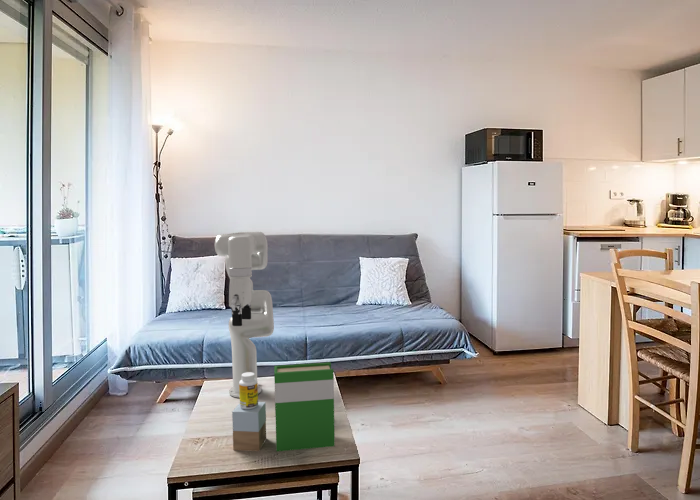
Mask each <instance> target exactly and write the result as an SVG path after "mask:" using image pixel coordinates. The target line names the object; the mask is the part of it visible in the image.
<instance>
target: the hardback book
mask: <svg viewBox="0 0 700 500" xmlns="http://www.w3.org/2000/svg"><path fill="white" fill-rule="evenodd" d="M273 367H274V368H273V370H274V371H273V372H274V374H273V376H274V405H275V406H274V407H275V408H274V411H275V412H274V413H275V444H276V446H275V447H276V448H275V449H276V450H275V451H276V452H285V451H296V450H297V451H298V450H299V451H300V450H308V449H318V448H330V447H331V448H332V447H335V446H336V444H335V443H336V442H335V441H336V440H335V438H336V437H335V388H334V385H335V382H334V381H335V380H334V379H335V378H334V377H335V376H334V374H335V373H334V368H332V363H331V362H330V361H329V362H327V361H326V362H313V363H298V364H297V363H296V364H283V365H282V364H281V365H274V366H273Z"/></svg>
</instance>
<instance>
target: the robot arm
mask: <svg viewBox="0 0 700 500" xmlns="http://www.w3.org/2000/svg"><path fill="white" fill-rule="evenodd" d="M267 239H268V238H267V237H266V234H265V233H264V232H262V231H239V232H232V233H225V234H224V233H223V234H217V236H216V238H215V240H214V251H215V253H216V254H217V256H219V257H224V260H225V261H224V263H225V269H226V273H227V276H228V278H229V287H228V288H229V291H228V306H229V307H230V308H231V309H230V310H231V316H230V318H229V321H228V331H229V336H230V343H231V362H232V363H231V365H232V387H231V388H230V389H228V394H229V395H230V396H231V397H234V398H239V399H240V395H239V382H240V380H242V379H241V378H242V374H243V373H247V372H252V373H254V374H255V379H256V380H257V381H258V363H257V362H258V361H257V360H258V359H257V347H256V344H255V343H254V342H253V341H252V340H251V339H253V338H263V337H264V338H266V337H270V336H272V335H273V333H274V331H275V329H274V328H275V321H274V307H273V306H274V305H273V298H272V295H271V293H270V292H269V290H266V289H255V290H254V282H253V280H252V279H251V278H252V276H253V275H252V274H253V272H252V271H261V270H265V268H267V265H268V258H269V257H268V250H269V249H268V248H269V247H268V246H269V245H268V240H267ZM261 392H262V386H260V385H259V384H258V395H259V394H260V393H261Z"/></svg>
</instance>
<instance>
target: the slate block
mask: <svg viewBox="0 0 700 500" xmlns="http://www.w3.org/2000/svg"><path fill="white" fill-rule="evenodd" d="M266 406H267V405H266V401H258V406H257V407H255V408H253V409H242V408H241V407H240V402H238V404H237V405H236V406H235V408H234V409H233V410H232V411H231V413H232V414H231V417H232V432H233V431H247V432H259V431H260V429H261V427H262V426H263V424H264V423H265V421H266V422H267V412H266V411H267V409H266Z"/></svg>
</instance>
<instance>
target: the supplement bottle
mask: <svg viewBox="0 0 700 500" xmlns="http://www.w3.org/2000/svg"><path fill="white" fill-rule="evenodd" d="M241 379H242V380H240V382H239V395H240V398H239V403H240V407H241V408H242V409H253V408H255V407H257V406H258V402H259V394H258V385H259V384H258V379H257V380H256V379H255V374H254V373H252V372H247V373H243V374H242V378H241Z"/></svg>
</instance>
